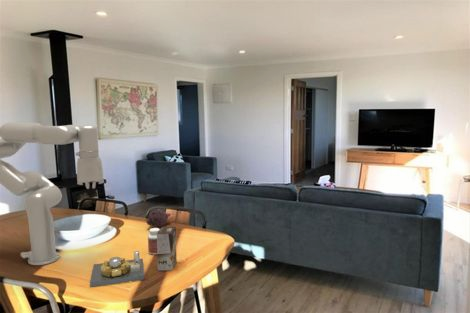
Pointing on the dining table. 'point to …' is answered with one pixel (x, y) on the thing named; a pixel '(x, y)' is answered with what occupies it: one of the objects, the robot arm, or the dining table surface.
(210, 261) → the dining table surface
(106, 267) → the gold ring
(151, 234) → the pill bottle
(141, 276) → the plate
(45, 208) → the robot arm
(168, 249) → the coffee box
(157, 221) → the pine cone
